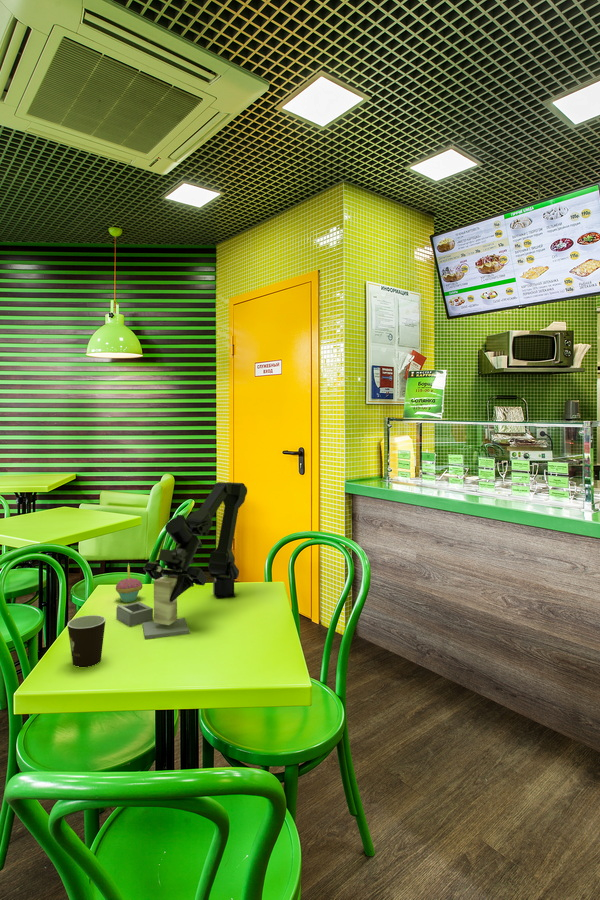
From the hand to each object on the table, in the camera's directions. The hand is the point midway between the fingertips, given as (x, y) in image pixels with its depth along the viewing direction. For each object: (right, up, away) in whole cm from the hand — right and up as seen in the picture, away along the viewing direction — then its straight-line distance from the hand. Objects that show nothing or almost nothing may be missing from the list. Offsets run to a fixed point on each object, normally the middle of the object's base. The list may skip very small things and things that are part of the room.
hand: (162, 599), depth 146 cm
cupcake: (-18, -8, +27) cm, 33 cm away
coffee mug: (-14, -10, -17) cm, 24 cm away
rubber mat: (0, -9, +2) cm, 9 cm away
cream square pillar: (0, -7, +2) cm, 7 cm away
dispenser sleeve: (-11, -9, +9) cm, 17 cm away
